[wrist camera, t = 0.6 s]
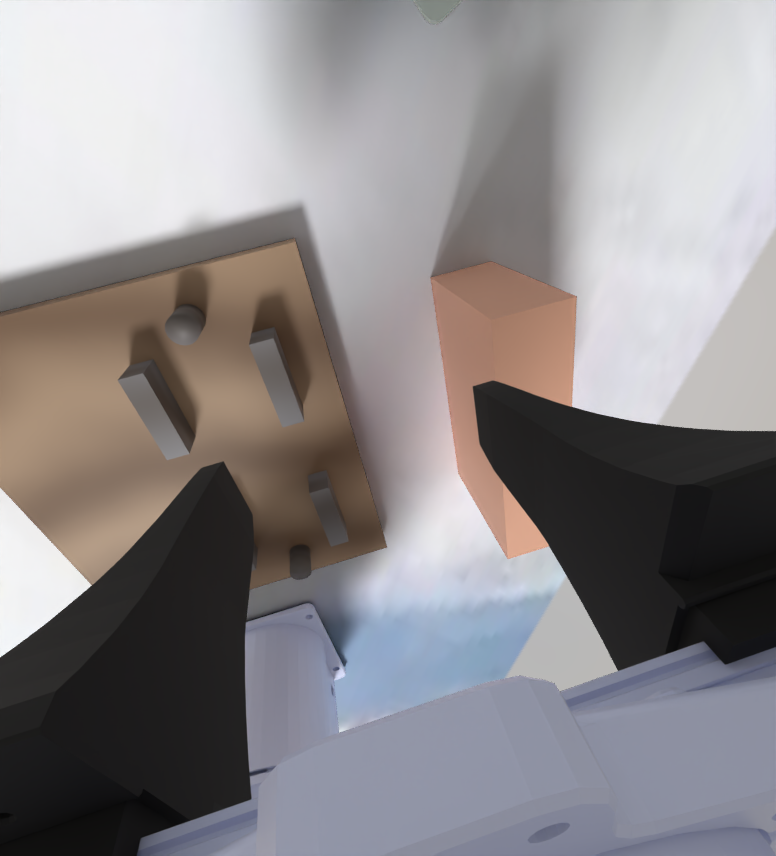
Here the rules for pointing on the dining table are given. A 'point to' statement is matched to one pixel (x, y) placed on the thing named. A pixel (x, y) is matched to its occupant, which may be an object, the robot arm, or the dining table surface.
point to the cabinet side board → (183, 413)
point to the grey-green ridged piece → (436, 9)
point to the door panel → (501, 372)
